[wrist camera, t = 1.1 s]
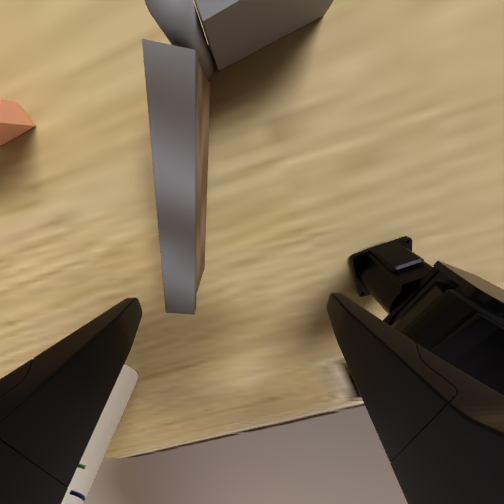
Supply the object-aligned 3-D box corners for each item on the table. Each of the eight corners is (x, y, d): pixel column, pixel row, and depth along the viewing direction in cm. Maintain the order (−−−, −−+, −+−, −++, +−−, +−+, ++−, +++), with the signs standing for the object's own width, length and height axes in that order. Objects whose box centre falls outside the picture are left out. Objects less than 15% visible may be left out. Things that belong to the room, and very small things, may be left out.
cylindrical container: (107, 390, 34) (-142, 849, 12) (80, 366, 30) (-343, 948, 8) (146, 382, 33) (-41, 850, 11) (122, 357, 30) (-213, 956, 8)
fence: (324, 17, 14) (403, -105, 7) (24, 175, 17) (-110, 195, 11) (310, -74, 12) (400, -357, 5) (-21, 125, 16) (-217, 112, 9)
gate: (183, 79, 14) (141, 32, 8) (214, 85, 14) (195, 43, 8) (186, 266, 22) (166, 312, 16) (207, 268, 22) (194, 314, 16)
